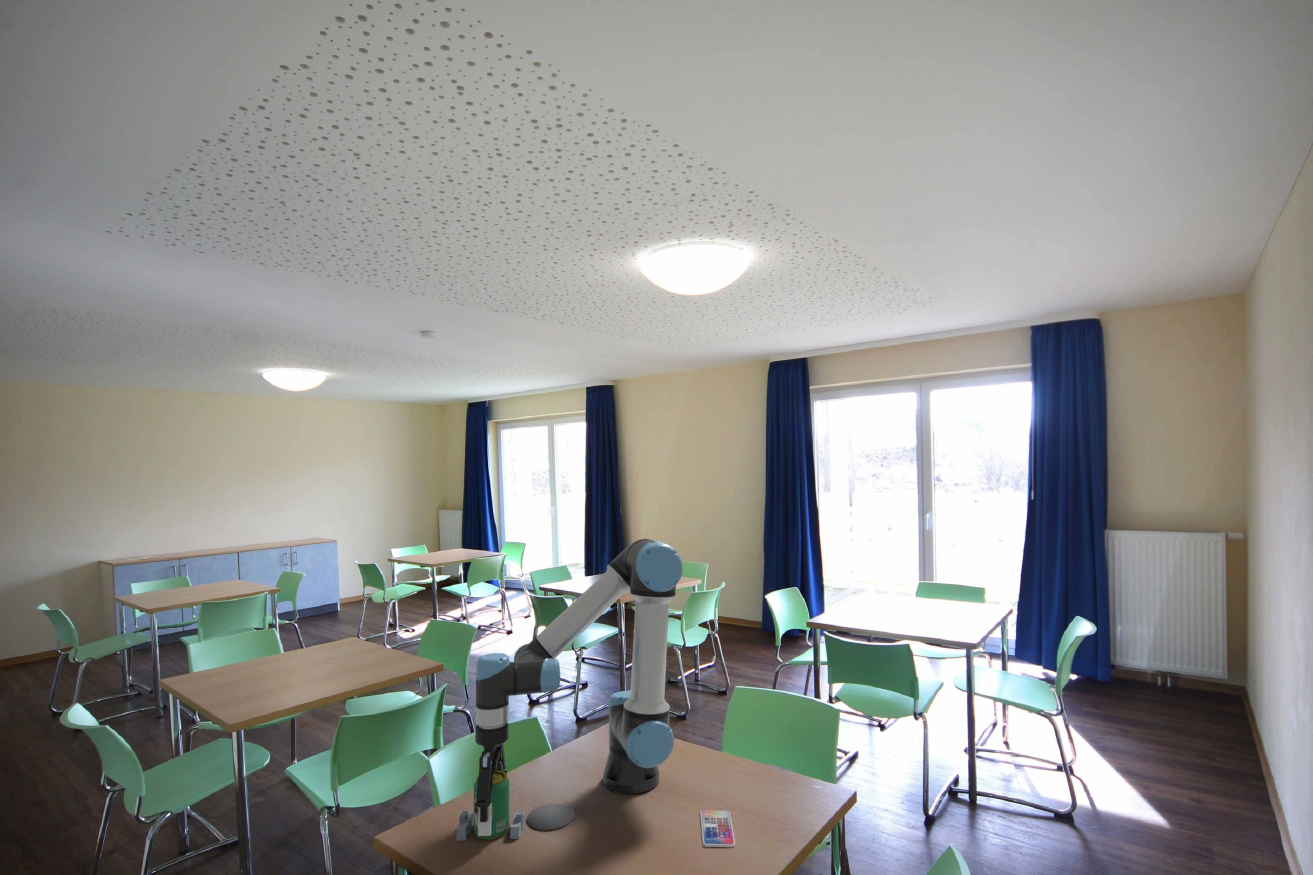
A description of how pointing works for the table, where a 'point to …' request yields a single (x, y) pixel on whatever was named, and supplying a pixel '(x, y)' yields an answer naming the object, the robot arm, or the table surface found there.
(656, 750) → the robot arm
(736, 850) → the table surface
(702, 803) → the table surface
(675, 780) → the table surface
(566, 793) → the table surface
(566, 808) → the coaster
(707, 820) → the smartphone
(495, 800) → the beverage can
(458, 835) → the twin notched blocks
